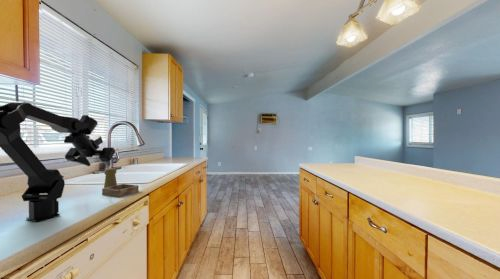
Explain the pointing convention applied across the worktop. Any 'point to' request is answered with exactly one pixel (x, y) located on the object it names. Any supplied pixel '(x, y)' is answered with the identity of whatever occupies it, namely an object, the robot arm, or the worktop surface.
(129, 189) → the slot holder
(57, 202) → the robot arm
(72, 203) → the worktop surface
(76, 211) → the worktop surface
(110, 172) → the cork
